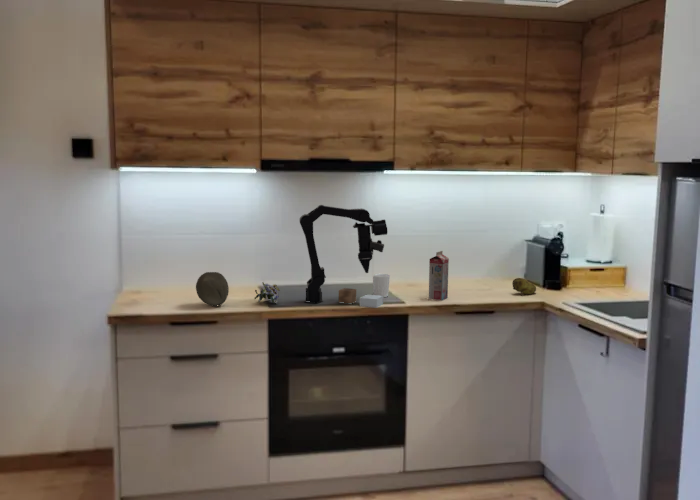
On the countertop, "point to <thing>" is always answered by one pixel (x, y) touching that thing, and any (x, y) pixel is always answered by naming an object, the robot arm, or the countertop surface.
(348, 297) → the walnut cube
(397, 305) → the countertop surface
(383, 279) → the white cup
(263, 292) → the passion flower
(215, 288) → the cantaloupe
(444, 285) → the juice carton
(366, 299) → the riser block
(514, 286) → the potato
